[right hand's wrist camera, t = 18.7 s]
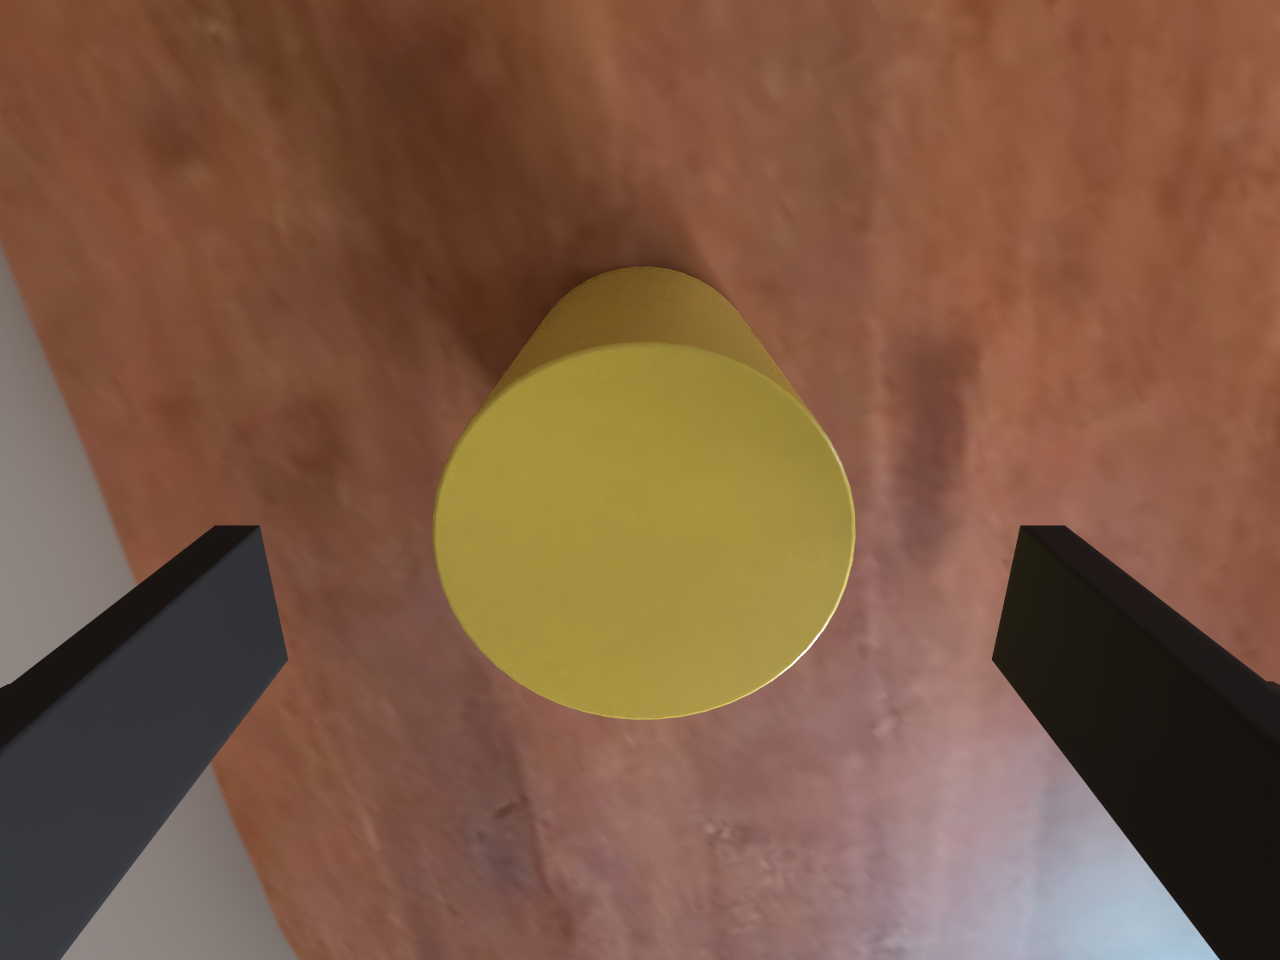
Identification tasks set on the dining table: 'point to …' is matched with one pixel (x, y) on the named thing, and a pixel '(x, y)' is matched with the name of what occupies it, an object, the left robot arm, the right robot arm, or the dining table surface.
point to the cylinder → (643, 506)
